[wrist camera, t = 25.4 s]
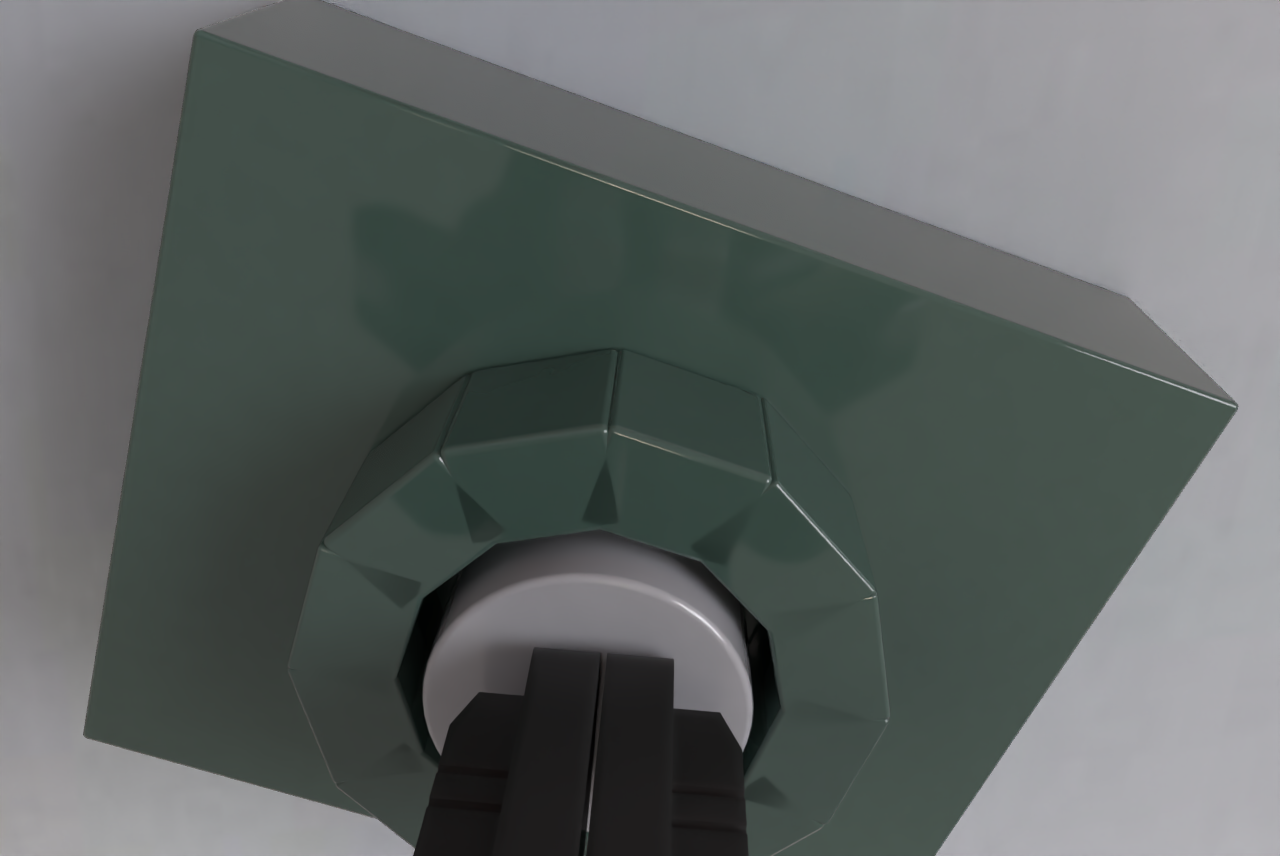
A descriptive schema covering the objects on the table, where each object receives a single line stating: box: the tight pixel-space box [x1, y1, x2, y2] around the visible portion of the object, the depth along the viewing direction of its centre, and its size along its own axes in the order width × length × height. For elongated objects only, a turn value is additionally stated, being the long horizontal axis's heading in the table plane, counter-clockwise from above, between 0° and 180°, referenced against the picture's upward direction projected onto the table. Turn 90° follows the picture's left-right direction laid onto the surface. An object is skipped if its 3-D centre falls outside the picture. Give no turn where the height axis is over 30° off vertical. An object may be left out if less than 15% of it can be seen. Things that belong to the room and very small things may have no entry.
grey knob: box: [422, 530, 754, 832], centre depth 13 cm, size 4×4×2 cm
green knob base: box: [83, 0, 1238, 856], centre depth 15 cm, size 12×10×6 cm
